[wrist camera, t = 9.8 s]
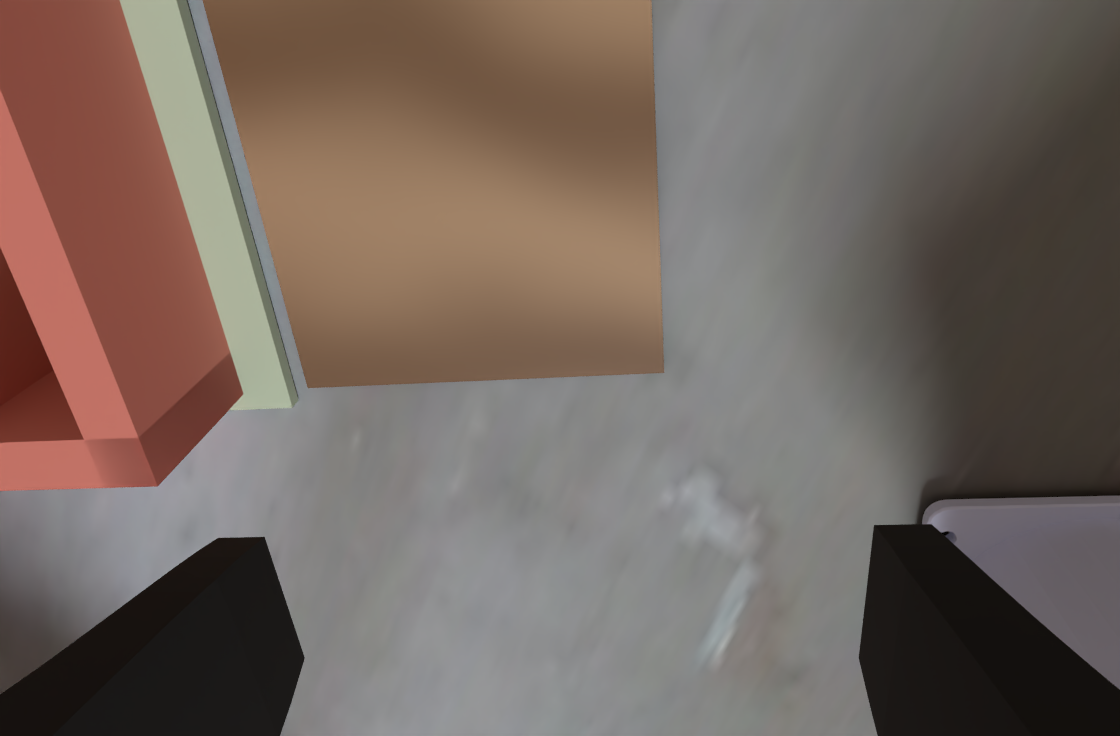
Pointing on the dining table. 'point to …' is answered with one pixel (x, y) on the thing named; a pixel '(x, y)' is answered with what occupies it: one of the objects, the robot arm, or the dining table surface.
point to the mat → (211, 197)
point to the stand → (453, 183)
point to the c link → (95, 265)
